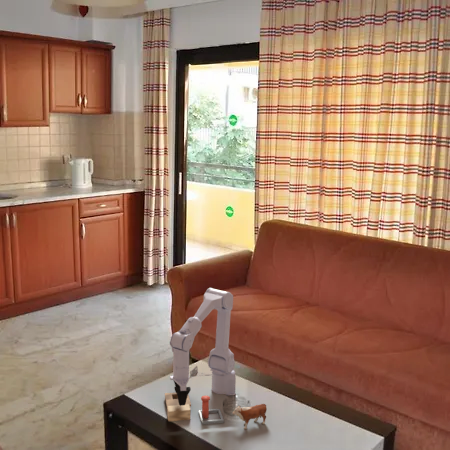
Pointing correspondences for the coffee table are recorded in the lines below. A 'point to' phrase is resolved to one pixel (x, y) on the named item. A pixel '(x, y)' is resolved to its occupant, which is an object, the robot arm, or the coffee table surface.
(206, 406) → the pin
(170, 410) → the block
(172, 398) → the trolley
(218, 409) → the grey square frame
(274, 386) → the coffee table surface
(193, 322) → the robot arm
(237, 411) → the bull figurine
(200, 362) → the coffee table surface
